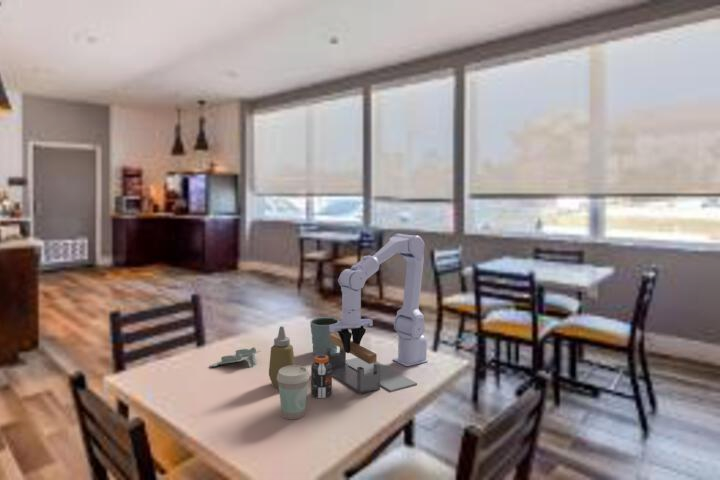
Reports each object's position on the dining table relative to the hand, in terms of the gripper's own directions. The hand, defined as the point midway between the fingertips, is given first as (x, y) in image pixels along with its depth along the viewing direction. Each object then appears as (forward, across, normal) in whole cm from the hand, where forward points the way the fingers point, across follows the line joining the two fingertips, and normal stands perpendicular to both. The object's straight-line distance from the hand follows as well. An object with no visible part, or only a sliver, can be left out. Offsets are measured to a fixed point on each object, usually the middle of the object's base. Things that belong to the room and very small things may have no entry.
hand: (351, 351), depth 149 cm
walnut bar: (0, 0, 0) cm, 0 cm away
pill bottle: (+9, -13, -5) cm, 17 cm away
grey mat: (+9, +10, 0) cm, 13 cm away
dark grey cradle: (+9, 0, 0) cm, 9 cm away
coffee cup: (+9, -25, -12) cm, 29 cm away
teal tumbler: (+9, +4, +25) cm, 27 cm away
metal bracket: (+10, -26, +32) cm, 42 cm away
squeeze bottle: (+9, -20, +7) cm, 23 cm away
